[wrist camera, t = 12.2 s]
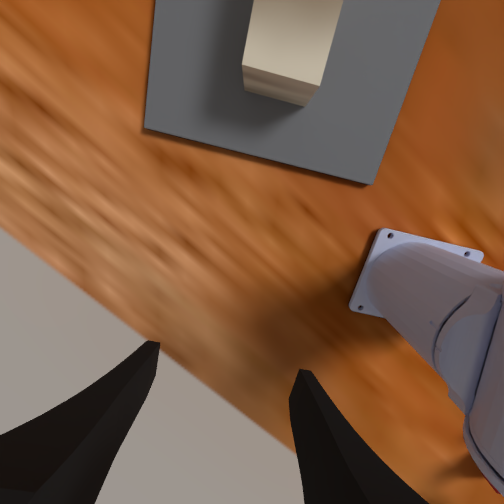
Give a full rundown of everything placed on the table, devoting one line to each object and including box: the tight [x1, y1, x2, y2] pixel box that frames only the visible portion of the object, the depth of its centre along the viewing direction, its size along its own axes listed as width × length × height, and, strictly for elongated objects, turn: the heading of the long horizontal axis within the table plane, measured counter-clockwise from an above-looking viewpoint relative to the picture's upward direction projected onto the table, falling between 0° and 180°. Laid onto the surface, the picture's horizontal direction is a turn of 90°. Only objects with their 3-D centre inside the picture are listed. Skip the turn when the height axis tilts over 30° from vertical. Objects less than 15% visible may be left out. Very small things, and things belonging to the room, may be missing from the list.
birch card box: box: [242, 0, 343, 107], centre depth 14 cm, size 8×4×4 cm, turn 167°
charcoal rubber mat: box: [144, 0, 440, 185], centre depth 16 cm, size 18×16×1 cm
